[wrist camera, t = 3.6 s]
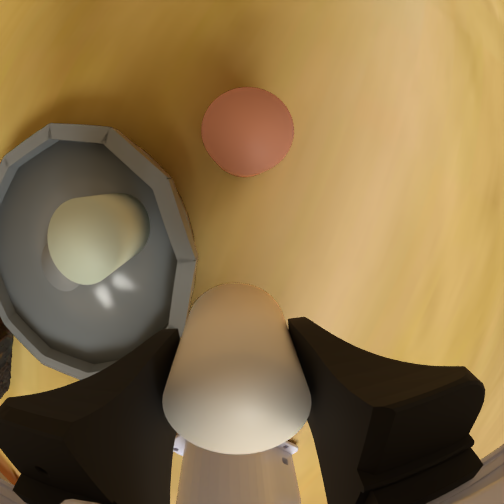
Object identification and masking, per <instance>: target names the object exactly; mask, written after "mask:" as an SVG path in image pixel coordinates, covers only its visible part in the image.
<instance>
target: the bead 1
mask: <svg viewBox="0 0 504 504" xmlns="http://www.w3.org/2000/svg"><path fill="white" fill-rule="evenodd" d="M201 133H202V140H203V143H204V146H205V148H206V150H207V152H208V154H209V155H210V156H211V158H212V159H213V160H214V161H215V162H216V163H217V164H218V165H219V166H220V167H221V168H222V169H223V170H224V171H226V172H227V173H229V174H232V175H234V176H239V177H251V176H255V175H257V174H260V173H262V172H264V171H266V170H268V169H270V168H272V167H274V166H275V165H277V164H278V163H279V162H280V161H281V160H282V159H283V158H284V157H285V156H286V154H287V153H288V151H289V149H290V147H291V145H292V141H293V136H294V126H293V120H292V117H291V115H290V112H289V110H288V109H287V107H286V106H285V104H284V103H283V102H282V101H281V100H280V99H279V98H278V97H276V96H275V95H273V94H272V93H270V92H268V91H266V90H263V89H259V88H254V87H240V88H235V89H232V90H229V91H227V92H225V93H223V94H222V95H220V96H219V97H217V98H216V99H215V100H214V101H213V102H212V103H211V104H210V106H209V107H208V109H207V111H206V113H205V115H204V118H203V121H202V129H201Z"/></svg>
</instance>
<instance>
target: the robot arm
mask: <svg viewBox="0 0 504 504" xmlns="http://www.w3.org/2000/svg"><path fill="white" fill-rule="evenodd" d="M288 328H289V333H290V336H291V339H292V342H293V344H294V347H295V350H296V353H297V356H298V359H299V362H300V364H301V367H302V370H303V373H304V376H305V379H306V382H307V385H308V388H309V391H310V394H311V410H310V414H309V416H308V418H307V421H308V423H309V426H310V429H311V432H312V435H313V438H314V442H315V446H316V450H317V455H318V459H319V463H320V468H321V473H322V477H323V482H324V487H325V492H326V497H327V502H328V504H504V444H503V445H502V446H500V447H499V448H497V449H496V450H494V451H493V452H492V453H490V454H489V455H487V456H485V457H484V458H482V459H481V460H480V459H479V458H478V456H477V455H476V454H475V452H474V451H473V450H472V449H471V447H472V446H473V445H474V440H473V438H472V437H471V436H470V435H469V432H470V430H471V428H472V426H473V424H474V423H475V421H476V419H477V416H478V414H479V412H480V410H481V408H482V405H483V402H484V397H485V388H484V385H483V383H482V382H481V381H480V380H478V379H477V378H476V377H475V376H474V375H473V374H472V373H471V372H470V371H469V370H468V369H467V368H466V367H464V366H428V365H420V364H413V363H407V362H402V361H398V360H393V359H389V358H386V357H382V356H379V355H376V354H373V353H370V352H368V351H365V350H362V349H360V348H358V347H356V346H353V345H351V344H349V343H347V342H345V341H343V340H342V339H340V338H338V337H336V336H334V335H333V334H331V333H329V332H328V331H326V330H325V329H323V328H321V327H320V326H318V325H317V324H315V323H314V322H312V321H311V320H309V319H308V318H306V317H299V318H291V319H288ZM179 342H180V336H179V331H178V329H162V330H160V331H159V332H157V333H156V334H154V335H153V336H151V337H150V338H149V339H147V340H146V341H145V342H143V343H142V344H141V345H139V346H138V347H137V348H135V349H134V350H133V351H131V352H130V353H128V354H127V355H125V356H124V357H122V358H121V359H119V360H118V361H116V362H115V363H113V364H112V365H110V366H108V367H107V368H105V369H103V370H101V371H99V372H97V373H95V374H93V375H91V376H89V377H87V378H85V379H82V380H80V381H77V382H75V383H72V384H70V385H67V386H64V387H61V388H57V389H54V390H50V391H46V392H42V393H37V394H32V395H25V396H18V397H9V398H7V399H6V400H5V401H4V403H3V404H2V405H1V406H0V448H1V450H2V451H3V452H4V454H5V455H6V456H7V457H8V459H9V460H10V461H11V462H12V463H13V465H14V466H15V467H16V468H17V469H18V471H19V472H20V473H21V475H20V477H19V479H18V481H17V482H16V484H15V486H14V485H12V484H10V483H8V482H6V481H5V480H3V479H1V478H0V504H170V483H171V467H172V456H173V451H174V452H176V453H177V454H179V455H181V456H183V460H182V466H181V473H180V480H179V487H178V494H177V501H176V504H301V498H300V493H299V488H298V483H297V478H296V473H295V469H294V464H293V459H292V454H294V453H295V452H297V451H298V446H297V445H295V444H293V443H291V442H289V441H286V442H284V443H282V444H280V445H278V446H276V447H274V448H271V449H268V450H265V451H262V452H257V453H251V454H224V453H218V452H213V451H210V450H206V449H203V448H201V447H199V446H196V445H194V444H192V443H191V442H189V441H187V440H186V439H184V438H183V437H182V436H181V435H179V434H178V435H176V433H177V432H176V431H175V430H174V429H173V428H172V426H171V425H170V423H169V422H168V420H167V418H166V416H165V413H164V410H163V404H162V399H163V392H164V389H165V386H166V382H167V379H168V376H169V373H170V370H171V367H172V364H173V361H174V358H175V355H176V352H177V348H178V345H179Z"/></svg>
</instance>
